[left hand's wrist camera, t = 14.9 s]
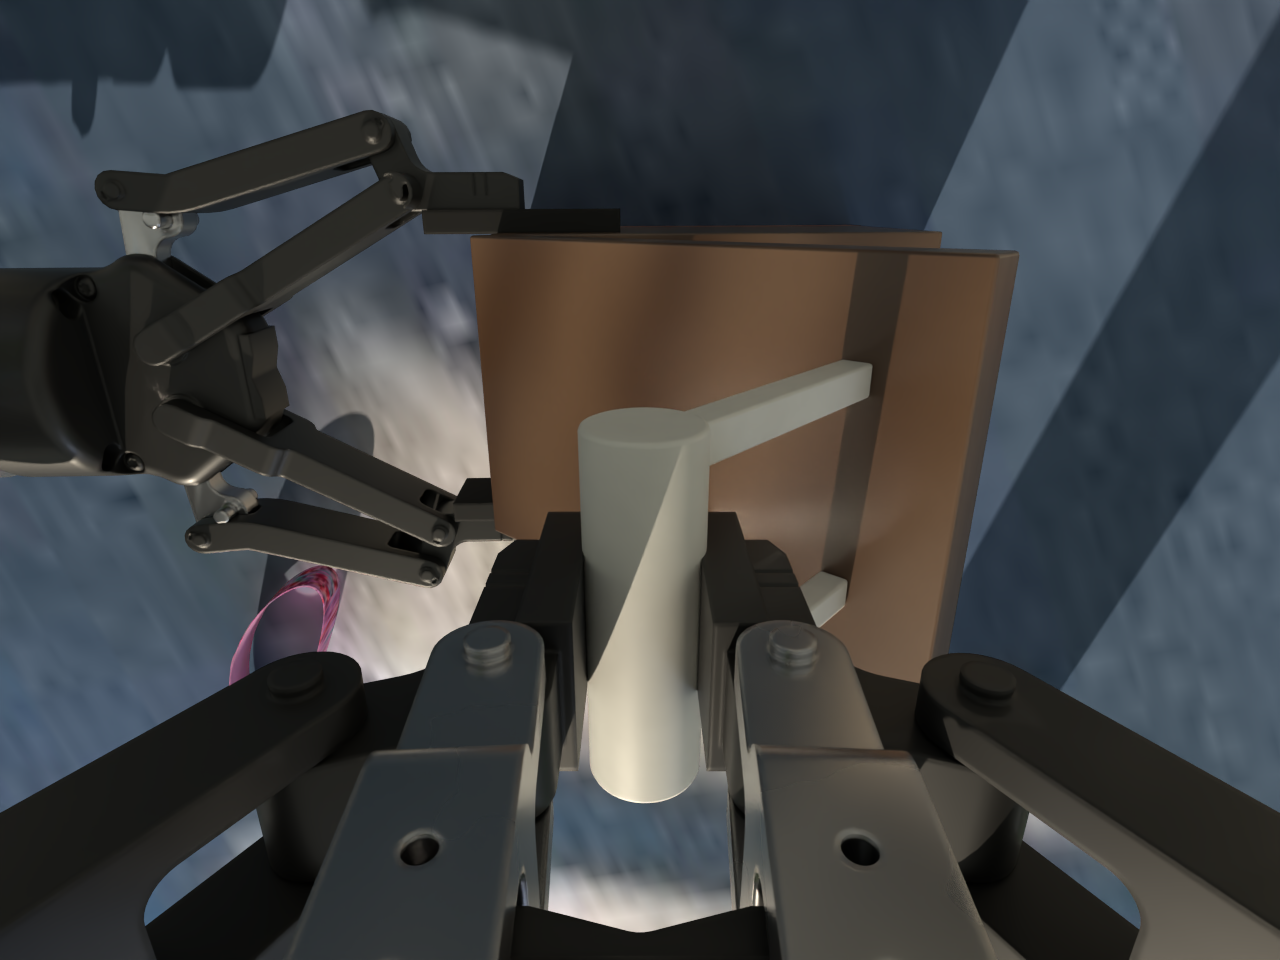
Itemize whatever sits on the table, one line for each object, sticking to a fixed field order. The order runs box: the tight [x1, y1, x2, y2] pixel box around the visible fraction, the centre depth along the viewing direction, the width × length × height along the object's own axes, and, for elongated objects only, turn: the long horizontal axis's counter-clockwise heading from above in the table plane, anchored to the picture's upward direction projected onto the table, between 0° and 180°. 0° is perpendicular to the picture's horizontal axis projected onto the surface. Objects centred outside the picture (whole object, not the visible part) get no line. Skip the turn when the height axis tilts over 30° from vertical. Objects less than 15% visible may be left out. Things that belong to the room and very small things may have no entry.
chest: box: [491, 225, 942, 248], centre depth 29 cm, size 14×10×10 cm
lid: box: [470, 235, 1019, 803], centre depth 16 cm, size 15×10×9 cm
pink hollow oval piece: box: [229, 566, 340, 685], centre depth 37 cm, size 11×4×2 cm, turn 157°
